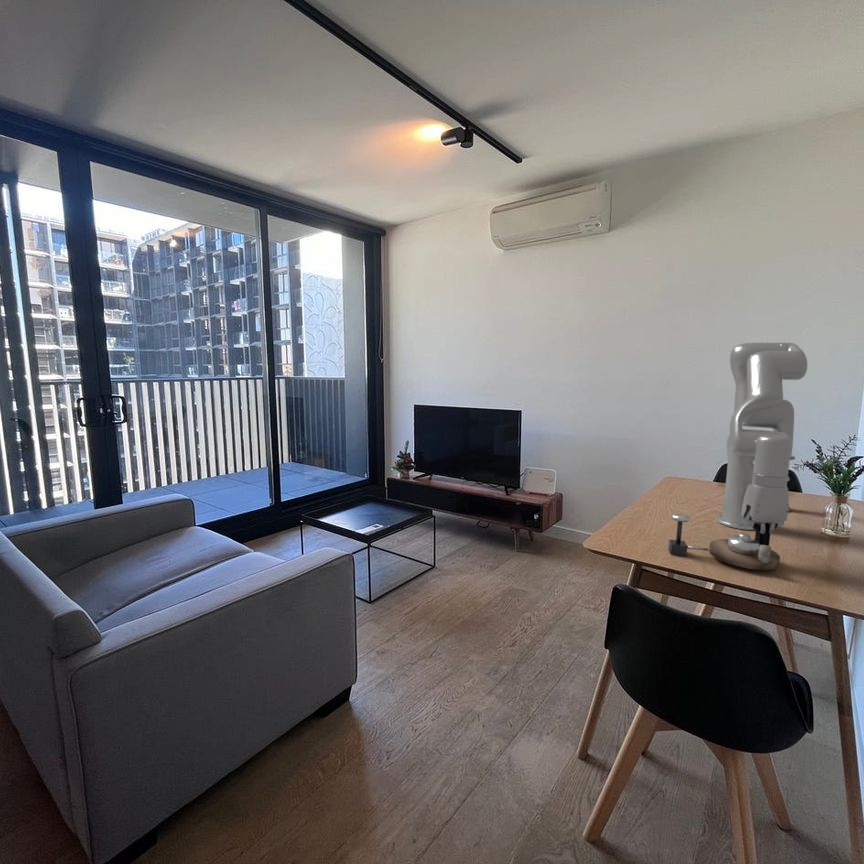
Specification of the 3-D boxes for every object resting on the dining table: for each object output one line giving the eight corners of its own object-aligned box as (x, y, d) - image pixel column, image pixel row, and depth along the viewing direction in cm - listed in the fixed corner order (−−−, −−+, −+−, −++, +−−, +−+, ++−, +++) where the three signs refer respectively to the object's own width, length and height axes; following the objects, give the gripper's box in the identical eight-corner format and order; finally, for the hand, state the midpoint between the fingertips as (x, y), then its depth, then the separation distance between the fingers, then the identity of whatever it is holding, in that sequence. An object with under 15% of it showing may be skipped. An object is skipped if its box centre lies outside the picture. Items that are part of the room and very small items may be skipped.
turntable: (749, 544, 135) (751, 525, 135) (795, 569, 119) (798, 547, 119) (696, 545, 134) (698, 526, 133) (736, 570, 118) (739, 549, 118)
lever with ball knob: (670, 554, 131) (673, 517, 129) (667, 548, 135) (670, 512, 133) (709, 559, 128) (713, 521, 126) (705, 553, 132) (709, 516, 130)
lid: (744, 545, 130) (746, 529, 130) (764, 555, 123) (766, 539, 123) (721, 546, 130) (723, 530, 129) (740, 556, 123) (742, 540, 122)
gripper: (783, 477, 128) (776, 540, 131) (732, 477, 127) (725, 541, 130) (807, 484, 121) (798, 550, 124) (753, 484, 120) (745, 552, 122)
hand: (761, 545), depth 127 cm, fingers closed
